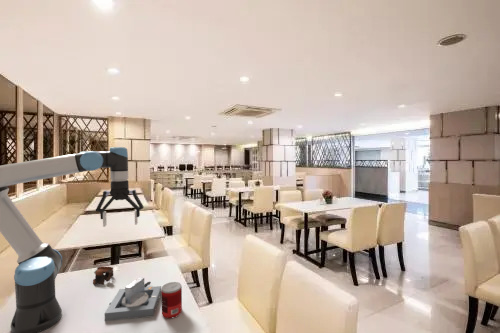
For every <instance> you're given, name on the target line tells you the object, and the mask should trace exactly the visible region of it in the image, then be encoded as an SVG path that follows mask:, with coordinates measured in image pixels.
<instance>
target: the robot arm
mask: <svg viewBox="0 0 500 333" xmlns="http://www.w3.org/2000/svg"><path fill="white" fill-rule="evenodd" d="M105 168H106V169H108V168H109V171H110V174H109V176H110V180H111V181H110V190H104V191H102V197H101V199H100V201H99V202H98V204H97V206H96V208H95V212H99V213H100V220H102V227H106V226H107V211H106V209H107V208H108V207H109V206H110V205H111V204H112V202H114V201H124V200H125V201H126V202H128V203H129V204H130V205H131V207H133V209H135V210H134V225H138V223H139V221H138V218H140V216H141V215H140V214H141V213H140V211H141V210H143V209H144V205H143V203H142V201H141V200H140V198H139V196H138V194H137V190H136V189H133V190H132V189H131V190H130V189H129V154H128V149H127V148H126V147H123V146H117V147H116V146H115V147H113V146H111V147H110V148H109V151H95V150H90V151H89V150H88V151H86V150H85V151H80V152H79V153H73V154H65V155H59V156H58V155H57V156H54V157H53V156H52V157H48V158H41V159H33V160H27V161H20V162H14V163H8V164H3V165H0V234H1V235H2V237H3V238H4V239H5V240H6V242H7V243H8V244H9V245H10V247H11V248H12V249H13V250H14V252H15V253H16V255H18V258H17V260H16V263H17V264H18V265H17V267H16V268H15V270H14V275H13V278H14V279H13V280H14V290H15V293H14V294H15V311H14V314H13V317H12V321H11V323H10V332H12V333H36V332H37V333H40V332H43V331H45V330H47V329H48V328H49V329H50V327H52V326H54V325H55V324H57V323H58V322H59V321H60V320H61V318H62V316H63V314H62V313H63V312H62V308H61V305H60V304H59V302H58V299H57V298H56V279H57V276H58V274H59V272H60V270H61V268H62V265H63V256H62V254H61V252H59V251H58V250H57V249H55V248H52V246H51V245H50V243H48V242H42V240H41V238H40V237H39V236H38V235H37V233H36V232H35V230H34V229H33V227H32V226H31V225H30V224H29V222H28V221H27V219H26V218H25V217H24V215H23V214H22V213H21V211H20V210H19V209H18V206H16V205H15V203H14V202H13V201H12V199H11V198H10V197H9V195H8V193H9V191H10V188H9V187H10V186H15V185H19V184H24V183H28V182H35V181H40V180H45V179H52V178H58V177H62V176H67V175H71V174H73V175H74V174H77V173H84V172H88V171H91V172H92V171H97V170H99V169H105ZM8 186H9V187H8ZM109 195H110V196H111V198H110V199H109V200H108V201H107V202H106V204H104V203H105V201H106V198H107V197H108V196H109ZM130 195H131V196H132V197H133V198H134V200H135V201H134V200H133V199H131V197H130ZM136 203H137V204H136ZM103 205H104V206H103ZM102 206H103V207H102Z"/></svg>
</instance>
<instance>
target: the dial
mask: <svg viewBox="0 0 500 333" xmlns="http://www.w3.org/2000/svg"><path fill="white" fill-rule="evenodd" d="M144 285H145V277H141V276H139V277H138V278H136V279H135V280H133V281H131V282H130V283H128V284H127V285H126V286H125V287H124V289H125V297H124V298H123V299H122V308H124V307H136V306H146V305H147V304H148V302H149V296H148V294H147V293H145V287H144Z"/></svg>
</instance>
